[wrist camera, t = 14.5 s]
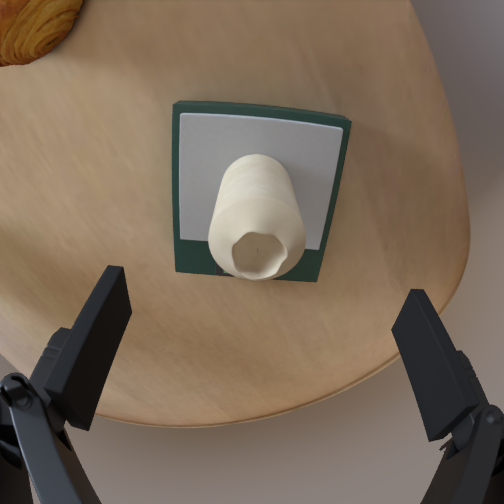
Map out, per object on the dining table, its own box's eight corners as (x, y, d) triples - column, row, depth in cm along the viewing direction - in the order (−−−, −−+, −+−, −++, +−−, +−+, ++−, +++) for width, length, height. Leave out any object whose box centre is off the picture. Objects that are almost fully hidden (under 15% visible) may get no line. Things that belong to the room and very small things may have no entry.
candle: (216, 158, 24) (194, 216, 15) (287, 149, 23) (307, 203, 15) (227, 220, 27) (216, 301, 18) (293, 213, 26) (311, 291, 18)
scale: (344, 116, 25) (354, 122, 22) (313, 268, 33) (317, 287, 31) (179, 100, 24) (170, 105, 21) (179, 258, 33) (173, 277, 30)
